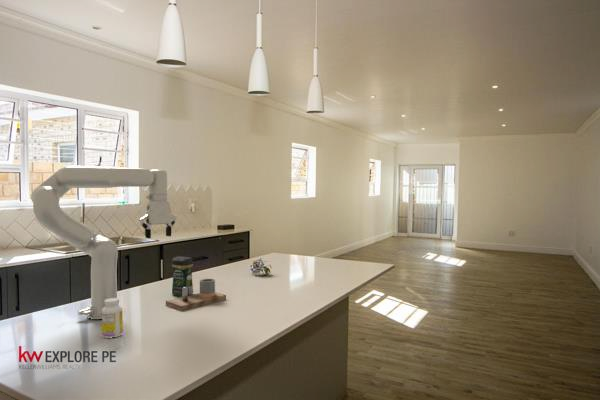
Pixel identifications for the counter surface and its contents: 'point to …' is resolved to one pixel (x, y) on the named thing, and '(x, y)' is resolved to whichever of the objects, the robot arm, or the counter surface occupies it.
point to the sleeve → (207, 287)
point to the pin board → (194, 301)
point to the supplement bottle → (112, 318)
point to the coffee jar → (182, 275)
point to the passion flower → (259, 267)
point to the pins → (185, 294)
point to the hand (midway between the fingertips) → (158, 237)
